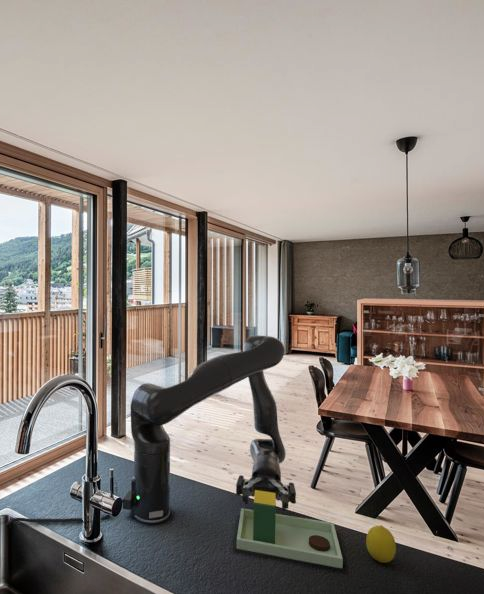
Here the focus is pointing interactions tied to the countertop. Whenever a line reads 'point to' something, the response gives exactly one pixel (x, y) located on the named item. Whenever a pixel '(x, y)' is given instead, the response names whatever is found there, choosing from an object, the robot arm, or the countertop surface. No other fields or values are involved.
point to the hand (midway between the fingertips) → (264, 503)
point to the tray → (292, 539)
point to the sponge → (264, 516)
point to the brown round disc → (319, 543)
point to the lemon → (381, 544)
